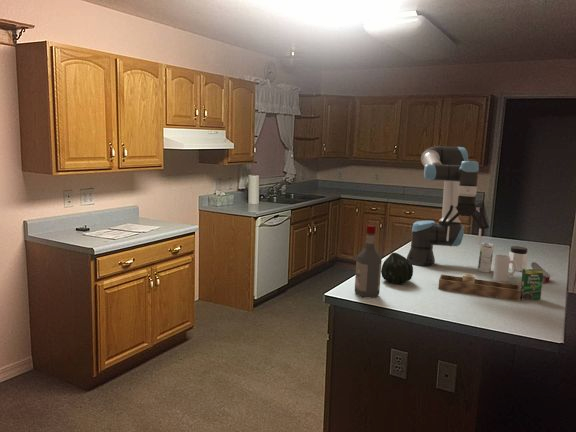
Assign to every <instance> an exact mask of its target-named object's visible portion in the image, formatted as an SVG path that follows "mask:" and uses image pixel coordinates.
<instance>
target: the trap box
mask: <svg viewBox="0 0 576 432" xmlns="http://www.w3.org/2000/svg"><path fill="white" fill-rule="evenodd" d="M462 280H463V276H454V275H449V274H442V273H441V274H440V276H439V279H438V288H437V289H438V290H441V289H444V290H443V291H448V290H450V292H455V291H457V293H462V292H464V293H463V294H469V293H470V295H476V294H477V296H483V297H489V296H491V298H496V297H497V299H504V300H509V301H510V300H511V301H517V302H518V301H519V302H521V298H520V296H521V284H516V283H508V282H507V283H506V282H502V281H495V280H492V281H491V280H485V279H478V278H475V281H474V284H472V283H464V282H462Z"/></svg>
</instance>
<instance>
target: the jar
mask: <svg viewBox="0 0 576 432" xmlns="http://www.w3.org/2000/svg"><path fill="white" fill-rule="evenodd" d="M528 255H529V253H528V247H525V246H519V245H513V246H510V251H509V253H508V256H510V260H511V261H512V260H515V263H516V271H515V272H522V270H523V269H527V264H528ZM508 270H511V271H513V270H514V265H513V264H512V263H509V269H508Z"/></svg>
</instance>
